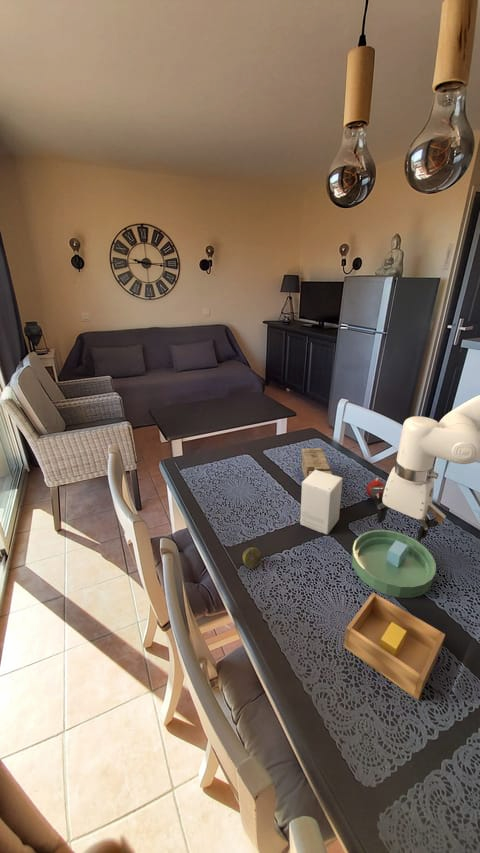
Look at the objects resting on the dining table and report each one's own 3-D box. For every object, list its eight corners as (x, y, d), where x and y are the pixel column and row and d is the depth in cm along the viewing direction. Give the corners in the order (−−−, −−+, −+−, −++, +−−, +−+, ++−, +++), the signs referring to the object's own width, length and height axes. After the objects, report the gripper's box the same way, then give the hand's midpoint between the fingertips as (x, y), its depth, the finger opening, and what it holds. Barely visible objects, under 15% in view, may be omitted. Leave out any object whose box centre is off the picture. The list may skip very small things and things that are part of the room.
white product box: (339, 519, 109) (344, 477, 103) (327, 536, 103) (331, 492, 97) (312, 509, 114) (315, 468, 108) (299, 524, 108) (301, 481, 102)
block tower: (337, 515, 112) (321, 465, 139) (340, 493, 109) (323, 446, 135) (312, 516, 113) (300, 465, 139) (314, 493, 109) (301, 446, 135)
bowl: (443, 565, 92) (447, 553, 90) (415, 615, 79) (418, 602, 78) (371, 531, 104) (373, 520, 102) (337, 569, 92) (338, 557, 90)
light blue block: (405, 557, 94) (407, 545, 92) (397, 568, 91) (400, 555, 89) (394, 551, 96) (396, 539, 94) (386, 562, 93) (388, 550, 91)
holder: (439, 653, 71) (445, 634, 69) (418, 700, 64) (423, 681, 62) (369, 610, 81) (372, 591, 78) (343, 646, 73) (346, 627, 71)
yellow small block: (403, 644, 73) (406, 630, 71) (393, 662, 69) (396, 648, 68) (388, 634, 75) (391, 621, 73) (378, 652, 71) (381, 638, 70)
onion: (383, 506, 115) (387, 484, 112) (364, 503, 117) (367, 482, 113) (383, 495, 120) (386, 475, 117) (365, 493, 122) (368, 472, 118)
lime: (262, 560, 95) (262, 545, 93) (256, 573, 91) (256, 558, 89) (246, 555, 97) (246, 541, 95) (240, 568, 93) (239, 553, 91)
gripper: (459, 477, 79) (442, 537, 86) (382, 452, 90) (373, 507, 97) (448, 491, 74) (431, 554, 81) (369, 463, 85) (360, 521, 92)
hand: (400, 529), depth 89 cm, fingers open, 9 cm apart
